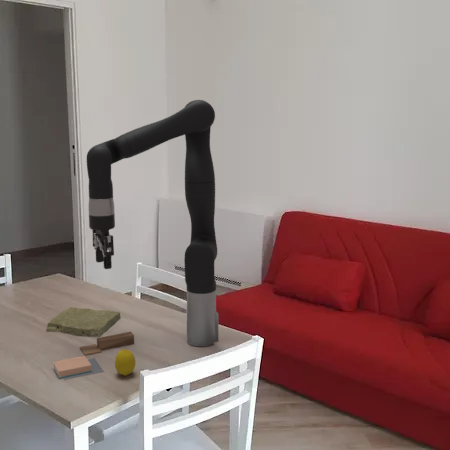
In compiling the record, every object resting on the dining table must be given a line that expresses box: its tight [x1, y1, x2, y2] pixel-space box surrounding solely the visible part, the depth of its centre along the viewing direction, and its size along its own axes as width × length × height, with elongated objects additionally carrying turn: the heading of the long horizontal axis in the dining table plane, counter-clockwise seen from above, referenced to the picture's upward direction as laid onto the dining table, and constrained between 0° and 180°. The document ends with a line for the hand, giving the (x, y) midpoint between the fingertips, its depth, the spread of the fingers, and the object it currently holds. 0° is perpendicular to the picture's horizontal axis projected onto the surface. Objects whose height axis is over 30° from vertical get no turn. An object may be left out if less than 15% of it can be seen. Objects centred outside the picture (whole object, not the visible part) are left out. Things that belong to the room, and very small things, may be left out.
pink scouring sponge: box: [53, 355, 92, 379], centre depth 163 cm, size 2×7×9 cm
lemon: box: [114, 348, 136, 377], centre depth 160 cm, size 6×6×8 cm
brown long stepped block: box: [79, 331, 135, 356], centre depth 179 cm, size 6×16×4 cm, turn 119°
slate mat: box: [63, 357, 105, 381], centre depth 164 cm, size 11×10×1 cm
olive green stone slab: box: [45, 307, 122, 338], centre depth 198 cm, size 19×20×4 cm
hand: (103, 265), depth 176 cm, fingers open, 8 cm apart
